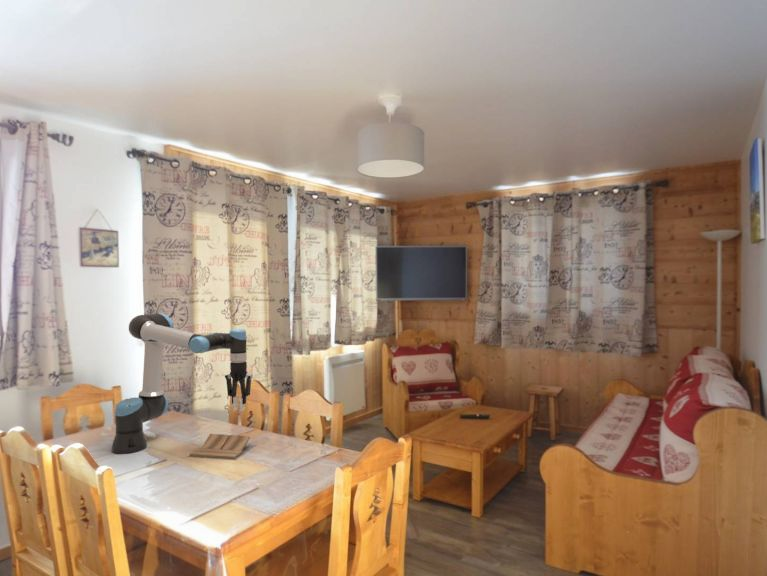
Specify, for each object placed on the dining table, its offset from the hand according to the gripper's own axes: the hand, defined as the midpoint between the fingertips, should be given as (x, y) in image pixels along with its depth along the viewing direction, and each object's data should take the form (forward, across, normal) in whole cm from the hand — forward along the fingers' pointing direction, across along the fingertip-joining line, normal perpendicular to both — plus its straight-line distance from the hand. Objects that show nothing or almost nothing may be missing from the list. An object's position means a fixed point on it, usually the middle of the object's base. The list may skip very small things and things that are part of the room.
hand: (239, 410), depth 232 cm
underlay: (+19, -5, -6) cm, 20 cm away
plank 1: (+15, -10, -3) cm, 19 cm away
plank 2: (+15, 0, -3) cm, 16 cm away
